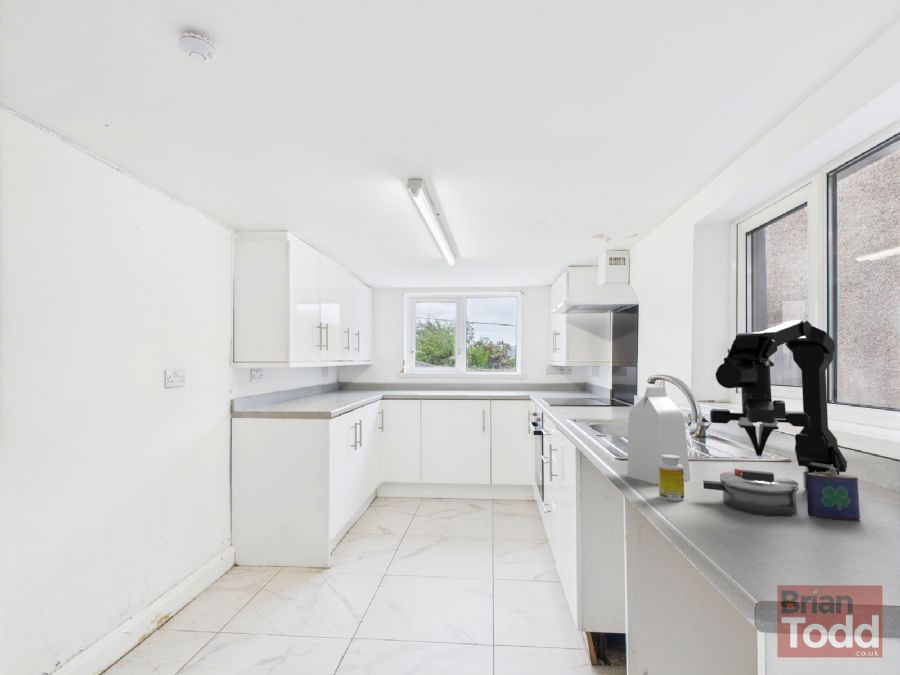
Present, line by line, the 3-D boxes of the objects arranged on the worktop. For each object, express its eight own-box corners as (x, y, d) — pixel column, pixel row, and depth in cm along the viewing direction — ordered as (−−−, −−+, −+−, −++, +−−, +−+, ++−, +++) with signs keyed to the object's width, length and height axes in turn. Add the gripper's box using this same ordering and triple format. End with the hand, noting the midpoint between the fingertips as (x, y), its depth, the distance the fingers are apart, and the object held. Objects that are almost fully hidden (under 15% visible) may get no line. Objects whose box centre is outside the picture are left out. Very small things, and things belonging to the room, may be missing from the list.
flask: (856, 517, 99) (853, 466, 100) (864, 522, 97) (861, 469, 97) (805, 513, 102) (803, 464, 102) (811, 518, 99) (809, 467, 100)
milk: (661, 485, 125) (658, 388, 127) (627, 476, 136) (625, 386, 137) (690, 480, 131) (687, 387, 132) (655, 472, 141) (653, 385, 143)
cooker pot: (788, 500, 111) (787, 479, 112) (803, 520, 97) (802, 496, 98) (703, 491, 120) (702, 471, 120) (705, 508, 106) (704, 486, 106)
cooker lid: (791, 480, 110) (790, 468, 111) (805, 496, 97) (804, 483, 97) (718, 473, 117) (717, 462, 117) (722, 488, 104) (721, 475, 104)
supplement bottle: (687, 502, 110) (685, 458, 111) (662, 501, 112) (660, 457, 112) (680, 496, 116) (679, 454, 116) (656, 494, 117) (655, 453, 118)
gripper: (711, 388, 104) (713, 459, 103) (815, 389, 96) (819, 466, 95) (708, 385, 114) (711, 450, 113) (802, 386, 106) (806, 456, 105)
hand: (758, 455), depth 106 cm, fingers closed
